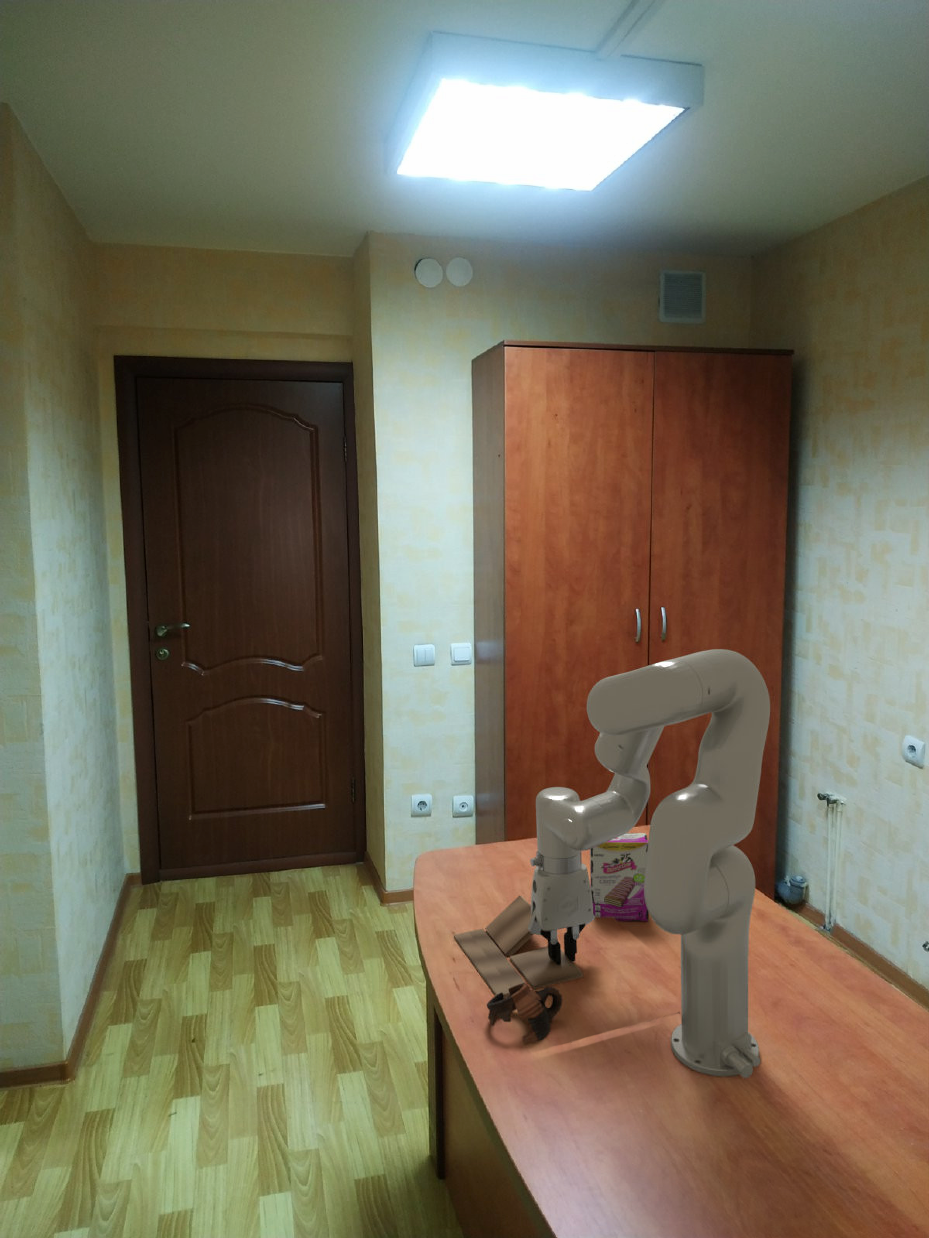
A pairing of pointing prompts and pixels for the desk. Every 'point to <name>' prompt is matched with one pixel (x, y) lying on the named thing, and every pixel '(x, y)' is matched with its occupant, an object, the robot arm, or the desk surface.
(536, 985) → the plank
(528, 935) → the plank
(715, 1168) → the desk surface
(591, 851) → the candy bar box
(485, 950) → the laid strip
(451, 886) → the desk surface
